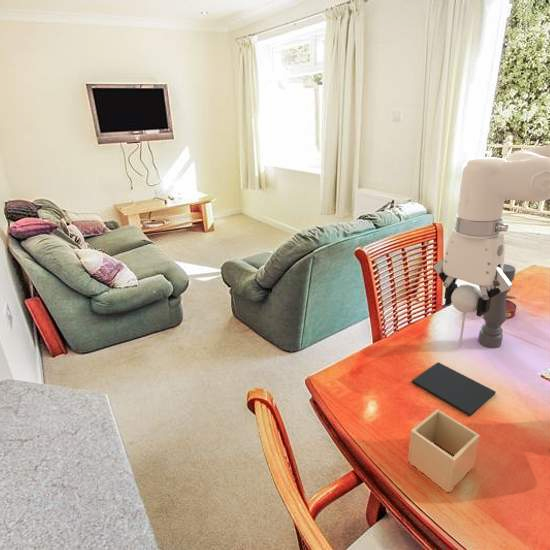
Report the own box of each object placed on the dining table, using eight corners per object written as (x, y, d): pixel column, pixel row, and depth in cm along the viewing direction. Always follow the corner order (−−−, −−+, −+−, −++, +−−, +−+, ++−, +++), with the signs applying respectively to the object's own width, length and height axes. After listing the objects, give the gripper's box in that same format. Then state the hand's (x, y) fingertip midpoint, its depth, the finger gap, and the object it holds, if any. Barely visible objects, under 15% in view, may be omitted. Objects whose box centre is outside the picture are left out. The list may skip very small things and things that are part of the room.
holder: (473, 467, 77) (480, 435, 73) (448, 493, 72) (454, 460, 68) (433, 439, 84) (437, 408, 80) (407, 461, 79) (410, 430, 75)
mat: (495, 393, 95) (495, 391, 95) (469, 416, 89) (470, 414, 88) (437, 364, 107) (438, 361, 107) (411, 382, 101) (412, 380, 101)
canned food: (483, 325, 131) (471, 300, 131) (494, 311, 137) (483, 287, 136) (517, 323, 122) (505, 296, 121) (527, 308, 128) (516, 282, 127)
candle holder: (476, 344, 114) (489, 269, 104) (479, 334, 119) (492, 261, 109) (499, 350, 111) (515, 273, 101) (502, 339, 115) (517, 265, 105)
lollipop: (445, 337, 86) (453, 278, 80) (474, 341, 84) (484, 281, 78) (444, 352, 81) (452, 290, 75) (475, 357, 79) (485, 294, 73)
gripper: (536, 229, 67) (518, 316, 74) (445, 214, 80) (437, 289, 87) (517, 240, 63) (500, 331, 70) (425, 222, 76) (418, 300, 83)
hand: (465, 307), depth 78 cm, fingers closed on lollipop, 6 cm apart
